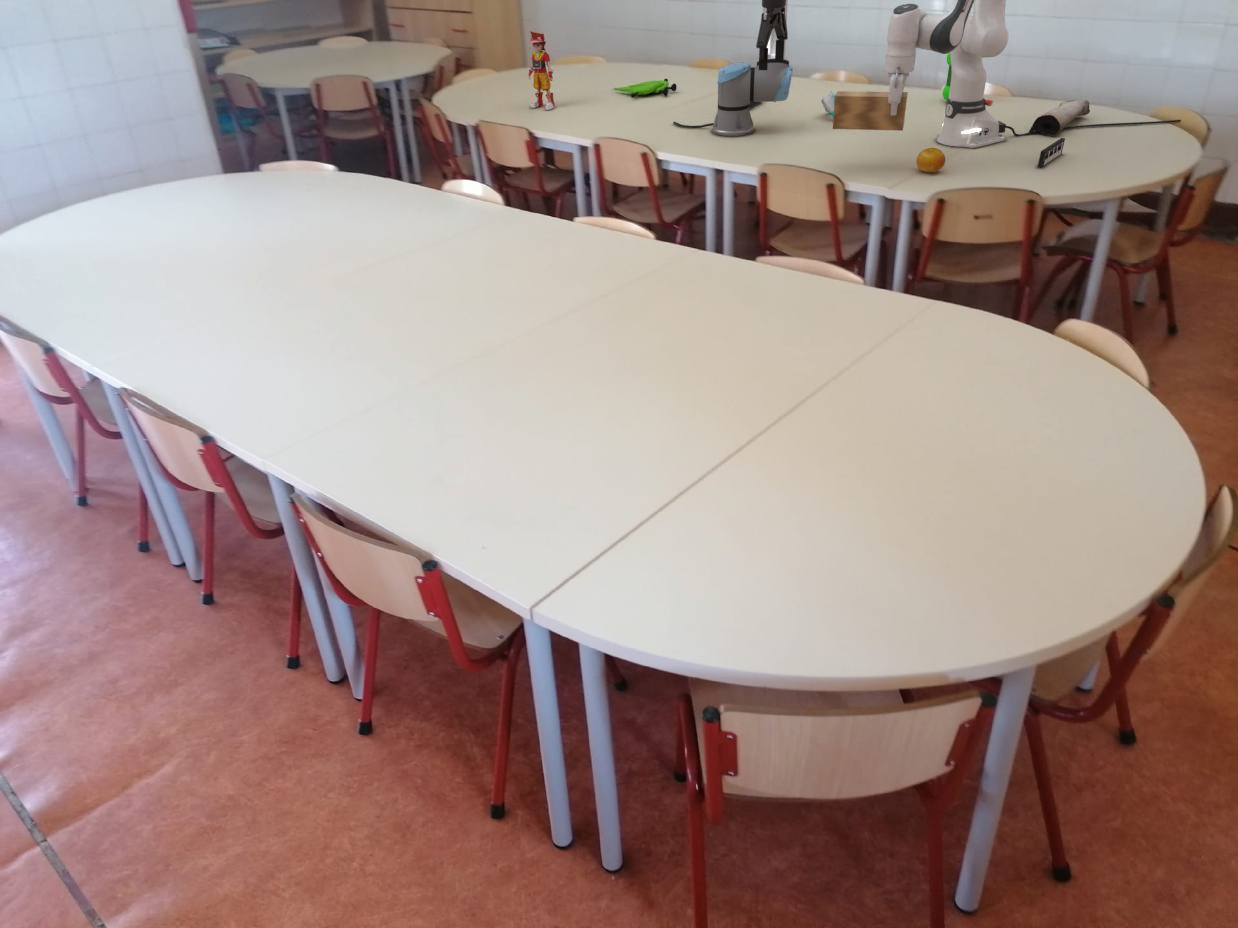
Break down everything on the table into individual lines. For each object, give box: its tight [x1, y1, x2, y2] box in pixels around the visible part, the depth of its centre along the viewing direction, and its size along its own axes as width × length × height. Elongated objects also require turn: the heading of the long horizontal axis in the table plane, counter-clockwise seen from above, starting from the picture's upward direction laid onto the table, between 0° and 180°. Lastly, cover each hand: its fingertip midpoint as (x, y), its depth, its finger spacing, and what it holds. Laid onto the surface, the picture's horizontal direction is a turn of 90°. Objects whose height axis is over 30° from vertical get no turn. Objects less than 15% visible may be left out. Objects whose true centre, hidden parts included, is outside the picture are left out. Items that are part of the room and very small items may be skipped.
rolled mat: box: [1028, 99, 1091, 137], centre depth 319 cm, size 30×9×10 cm
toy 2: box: [612, 78, 677, 99], centre depth 396 cm, size 28×5×30 cm
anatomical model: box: [820, 90, 836, 118], centre depth 343 cm, size 15×10×10 cm
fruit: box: [916, 147, 946, 174], centre depth 284 cm, size 8×8×8 cm
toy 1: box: [527, 31, 556, 111], centre depth 374 cm, size 12×9×30 cm
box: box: [832, 90, 909, 132], centre depth 283 cm, size 22×6×10 cm, turn 72°
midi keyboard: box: [1037, 137, 1066, 168], centre depth 287 cm, size 18×1×5 cm, turn 138°
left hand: (771, 66), depth 293 cm, fingers open, 13 cm apart
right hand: (894, 111), depth 281 cm, fingers closed on box, 6 cm apart
